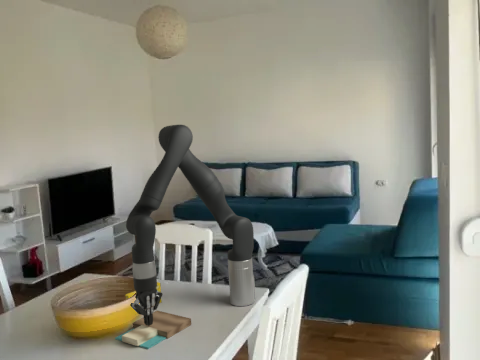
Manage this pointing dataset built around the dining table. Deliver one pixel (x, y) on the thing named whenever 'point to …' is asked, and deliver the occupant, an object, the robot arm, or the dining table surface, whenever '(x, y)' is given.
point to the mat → (148, 343)
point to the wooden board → (166, 323)
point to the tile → (139, 335)
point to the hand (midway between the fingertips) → (149, 324)
